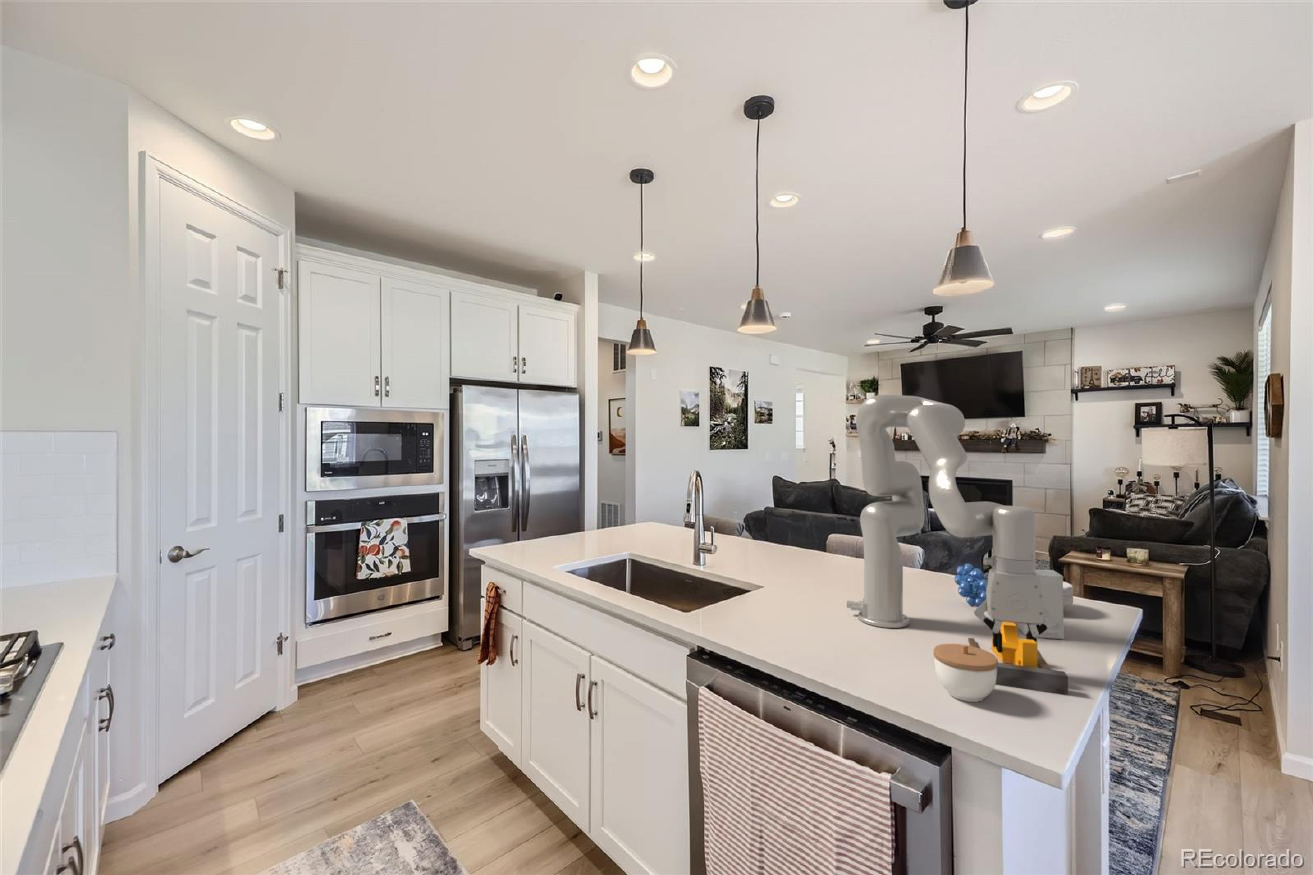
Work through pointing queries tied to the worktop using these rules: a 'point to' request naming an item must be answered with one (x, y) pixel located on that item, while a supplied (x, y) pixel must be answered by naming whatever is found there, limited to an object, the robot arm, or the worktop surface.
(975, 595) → the grapes
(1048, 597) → the skincare box
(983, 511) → the robot arm
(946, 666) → the lidded jar
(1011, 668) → the rail
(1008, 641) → the pipe clamp
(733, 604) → the worktop surface
